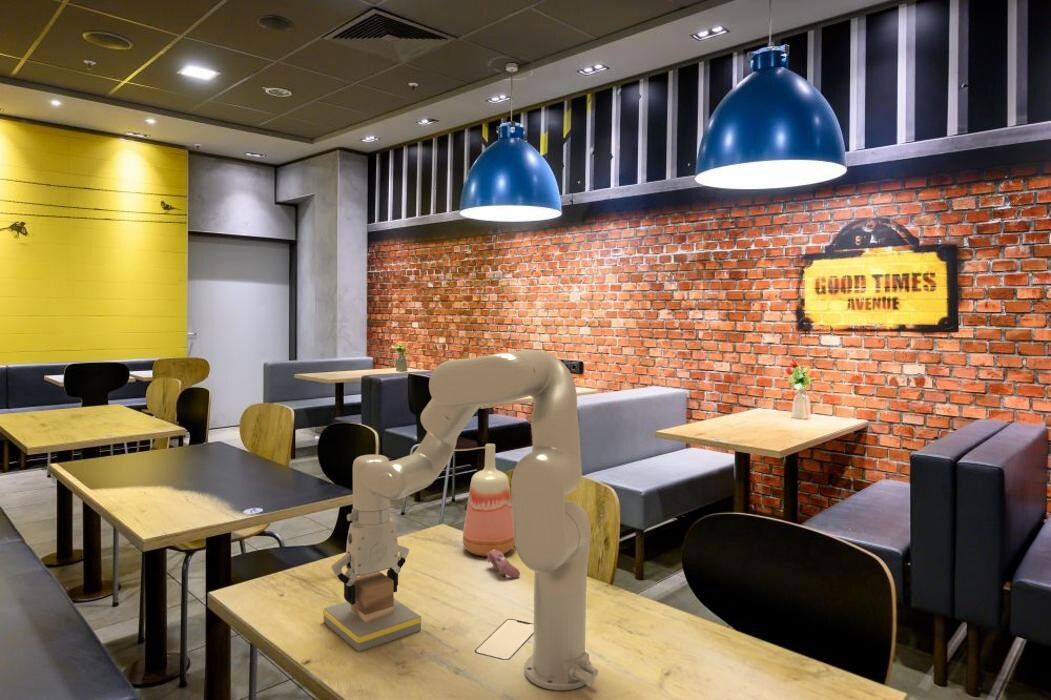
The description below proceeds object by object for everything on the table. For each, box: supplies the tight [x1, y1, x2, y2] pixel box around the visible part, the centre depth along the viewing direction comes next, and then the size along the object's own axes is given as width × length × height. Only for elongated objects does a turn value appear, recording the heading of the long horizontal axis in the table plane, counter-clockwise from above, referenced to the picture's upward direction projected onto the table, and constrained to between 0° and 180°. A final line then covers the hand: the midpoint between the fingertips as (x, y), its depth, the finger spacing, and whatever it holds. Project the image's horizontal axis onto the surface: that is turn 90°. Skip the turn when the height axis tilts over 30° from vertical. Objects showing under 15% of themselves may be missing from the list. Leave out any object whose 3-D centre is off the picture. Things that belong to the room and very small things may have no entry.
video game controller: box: [486, 549, 521, 579], centre depth 172 cm, size 10×5×7 cm, turn 26°
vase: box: [462, 443, 515, 558], centre depth 186 cm, size 14×14×30 cm
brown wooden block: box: [351, 571, 395, 622], centre depth 142 cm, size 6×6×7 cm
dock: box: [322, 598, 422, 652], centre depth 142 cm, size 16×14×3 cm
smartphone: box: [474, 618, 534, 661], centre depth 138 cm, size 8×1×16 cm
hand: (371, 596), depth 142 cm, fingers open, 9 cm apart
